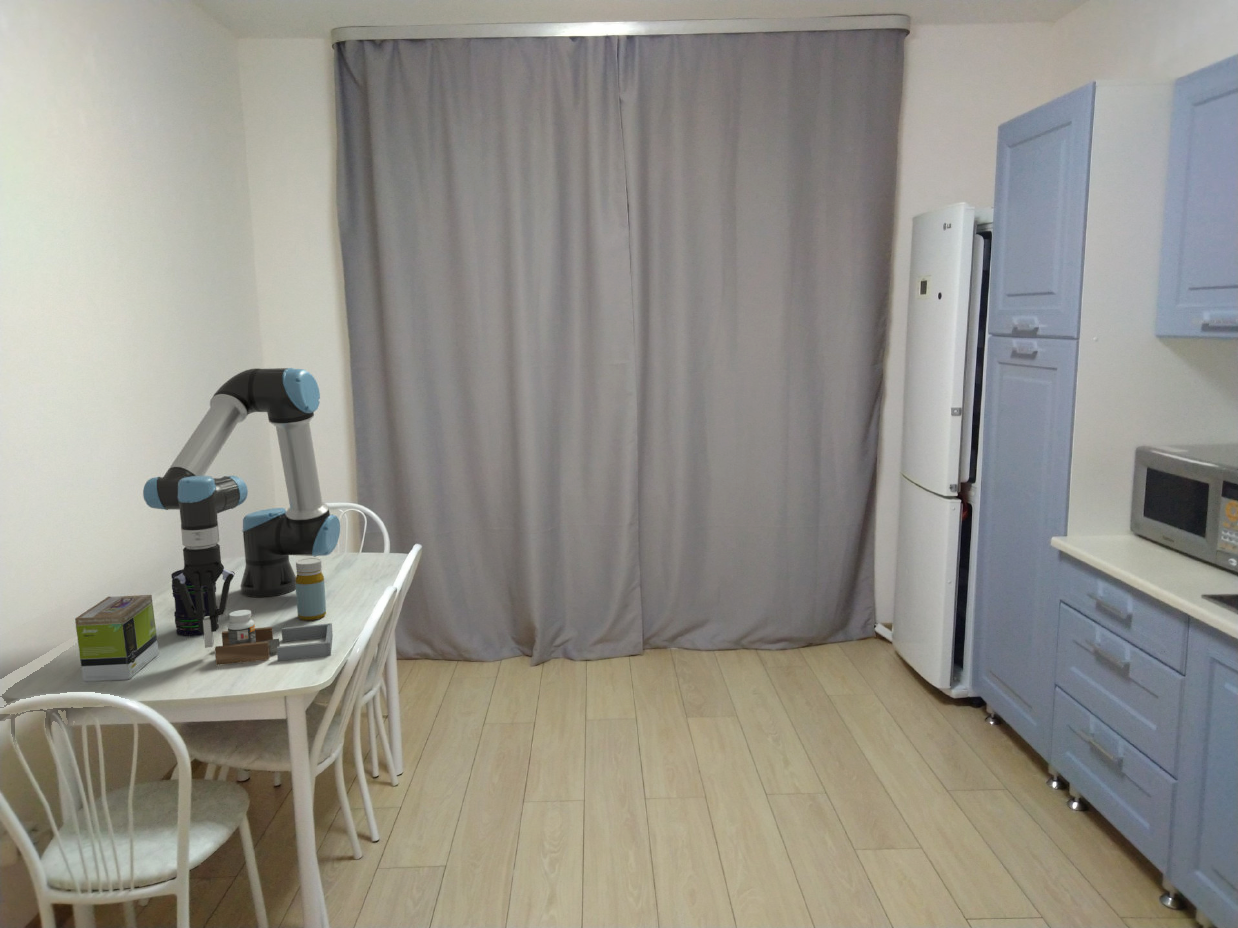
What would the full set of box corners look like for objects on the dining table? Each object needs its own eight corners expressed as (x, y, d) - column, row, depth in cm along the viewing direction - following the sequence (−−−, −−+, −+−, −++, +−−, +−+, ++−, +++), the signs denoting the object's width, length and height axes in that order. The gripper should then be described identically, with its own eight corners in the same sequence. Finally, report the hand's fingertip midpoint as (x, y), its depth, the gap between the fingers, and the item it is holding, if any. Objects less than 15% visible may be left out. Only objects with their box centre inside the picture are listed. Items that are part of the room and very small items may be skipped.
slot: (223, 647, 207) (222, 631, 206) (273, 642, 210) (272, 626, 209) (216, 665, 196) (214, 648, 196) (268, 659, 199) (267, 642, 199)
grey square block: (261, 650, 206) (260, 640, 205) (279, 648, 207) (279, 638, 206) (260, 656, 202) (259, 646, 201) (279, 654, 203) (278, 644, 203)
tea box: (114, 656, 202) (108, 594, 200) (160, 654, 203) (154, 593, 201) (80, 682, 187) (73, 616, 185) (129, 680, 188) (123, 614, 186)
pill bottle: (259, 655, 202) (255, 613, 201) (232, 660, 199) (228, 618, 198) (254, 647, 207) (251, 607, 205) (228, 652, 204) (224, 611, 202)
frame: (282, 639, 212) (281, 627, 211) (332, 634, 215) (331, 623, 215) (277, 660, 199) (276, 648, 198) (330, 655, 202) (330, 642, 201)
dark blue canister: (211, 620, 226) (206, 564, 224) (225, 629, 219) (221, 572, 217) (170, 630, 219) (164, 572, 217) (183, 639, 212) (178, 580, 210)
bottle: (317, 621, 225) (313, 565, 222) (292, 620, 226) (288, 563, 224) (331, 613, 231) (327, 558, 229) (307, 611, 233) (303, 556, 230)
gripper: (165, 551, 192) (175, 654, 195) (230, 546, 195) (238, 647, 199) (172, 543, 199) (181, 642, 202) (234, 539, 202) (242, 636, 206)
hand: (209, 645), depth 201 cm, fingers closed
